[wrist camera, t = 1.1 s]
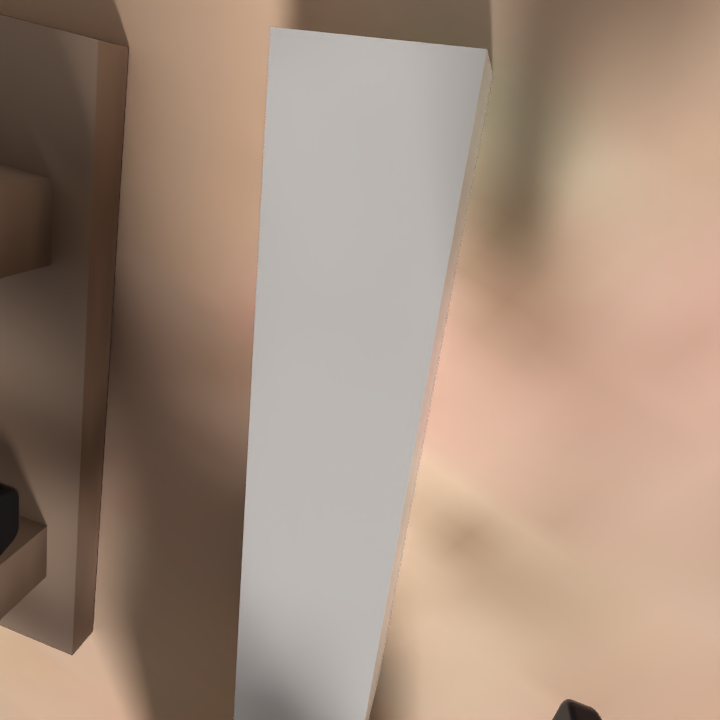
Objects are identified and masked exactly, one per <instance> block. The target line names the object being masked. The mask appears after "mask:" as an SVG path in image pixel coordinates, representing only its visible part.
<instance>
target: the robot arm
mask: <svg viewBox="0 0 720 720" xmlns="http://www.w3.org/2000/svg"><path fill="white" fill-rule="evenodd" d="M19 526H20V510H19V492H18V490H17V489H16V488H14V487H12V486H10V485H7V484H4V483H2V482H0V556H1V555H2V554H3V553H4V551H5V550H6V549H7V548H8V547H9V546H10V544H11V543H12V542H13V541H14V539H15V537H16V536H17V533H18V531H19ZM552 720H602V719H601V717H600V716H599V714H598V713H597V712H596V711H595V710H594V709H593V708H592V707H589V706H587V705H584V704H581V703H579V702H576V701H574V700H571V699H567V700H565V701H563V703H562V704H561V705H560V707H559V709H558V711H557V712H556V714H555V716H554V718H553V719H552Z"/></svg>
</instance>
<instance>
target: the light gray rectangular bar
mask: <svg viewBox="0 0 720 720" xmlns="http://www.w3.org/2000/svg"><path fill="white" fill-rule="evenodd" d="M492 77H493V73H492V69H491V64H490V60H489V55H488V51H487V49H481V48H472V47H462V46H452V45H442V44H433V43H423V42H413V41H404V40H394V39H384V38H374V37H365V36H355V35H345V34H336V33H326V32H316V31H307V30H297V29H287V28H277V27H270V41H269V60H268V79H267V98H266V117H265V135H264V154H263V173H262V192H261V211H260V230H259V249H258V268H257V286H256V305H255V324H254V343H253V362H252V381H251V400H250V419H249V437H248V456H247V475H246V494H245V513H244V532H243V551H242V570H241V588H240V607H239V626H238V645H237V664H236V683H235V702H234V720H369V716H370V712H371V708H372V704H373V700H374V696H375V692H376V687H377V683H378V679H379V675H380V671H381V666H382V660H383V655H384V650H385V645H386V639H387V634H388V629H389V623H390V618H391V613H392V607H393V602H394V597H395V592H396V586H397V581H398V576H399V570H400V565H401V560H402V554H403V549H404V544H405V539H406V533H407V528H408V523H409V517H410V512H411V507H412V501H413V496H414V491H415V486H416V480H417V475H418V470H419V464H420V459H421V454H422V448H423V443H424V438H425V433H426V427H427V422H428V417H429V411H430V406H431V401H432V395H433V390H434V385H435V380H436V374H437V369H438V364H439V358H440V353H441V348H442V342H443V337H444V332H445V327H446V321H447V316H448V311H449V305H450V300H451V295H452V289H453V284H454V279H455V274H456V268H457V263H458V258H459V252H460V247H461V242H462V236H463V231H464V226H465V221H466V215H467V210H468V205H469V199H470V194H471V189H472V183H473V178H474V173H475V168H476V162H477V157H478V152H479V146H480V141H481V136H482V130H483V125H484V120H485V115H486V109H487V104H488V99H489V93H490V88H491V83H492Z"/></svg>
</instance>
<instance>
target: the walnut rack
mask: <svg viewBox="0 0 720 720" xmlns="http://www.w3.org/2000/svg"><path fill="white" fill-rule="evenodd" d="M128 50H129V48H128V47H125V46H121V45H117V44H113V43H109V42H105V41H101V40H98V39H94V38H90V37H86V36H82V35H78V34H74V33H70V32H67V31H63V30H59V29H55V28H51V27H47V26H43V25H40V24H36V23H32V22H28V21H24V20H20V19H16V18H12V17H9V16H5V15H1V14H0V482H2V483H4V484H7V485H10V486H12V487H14V488H16V489H17V490H18V492H19V510H20V526H19V531H18V533H17V536H16V537H15V539H14V541H13V542H12V543H11V544H10V546H9V547H8V548H7V549H6V550H5V551H4V553H3V554H2V555H1V556H0V625H1V626H3V627H6V628H8V629H10V630H13V631H15V632H18V633H20V634H22V635H25V636H27V637H30V638H32V639H34V640H37V641H39V642H41V643H44V644H46V645H49V646H51V647H53V648H56V649H58V650H61V651H63V652H65V653H68V654H70V655H73V654H74V653H75V652H76V650H77V649H78V648H79V647H80V646H81V645H82V643H83V642H84V641H85V640H86V639H87V637H88V636H89V635H90V634H91V633H92V632H93V617H94V601H95V585H96V569H97V552H98V536H99V520H100V504H101V488H102V471H103V455H104V439H105V423H106V407H107V390H108V374H109V358H110V342H111V325H112V309H113V293H114V277H115V261H116V244H117V228H118V212H119V196H120V180H121V163H122V147H123V131H124V115H125V99H126V82H127V66H128Z"/></svg>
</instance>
